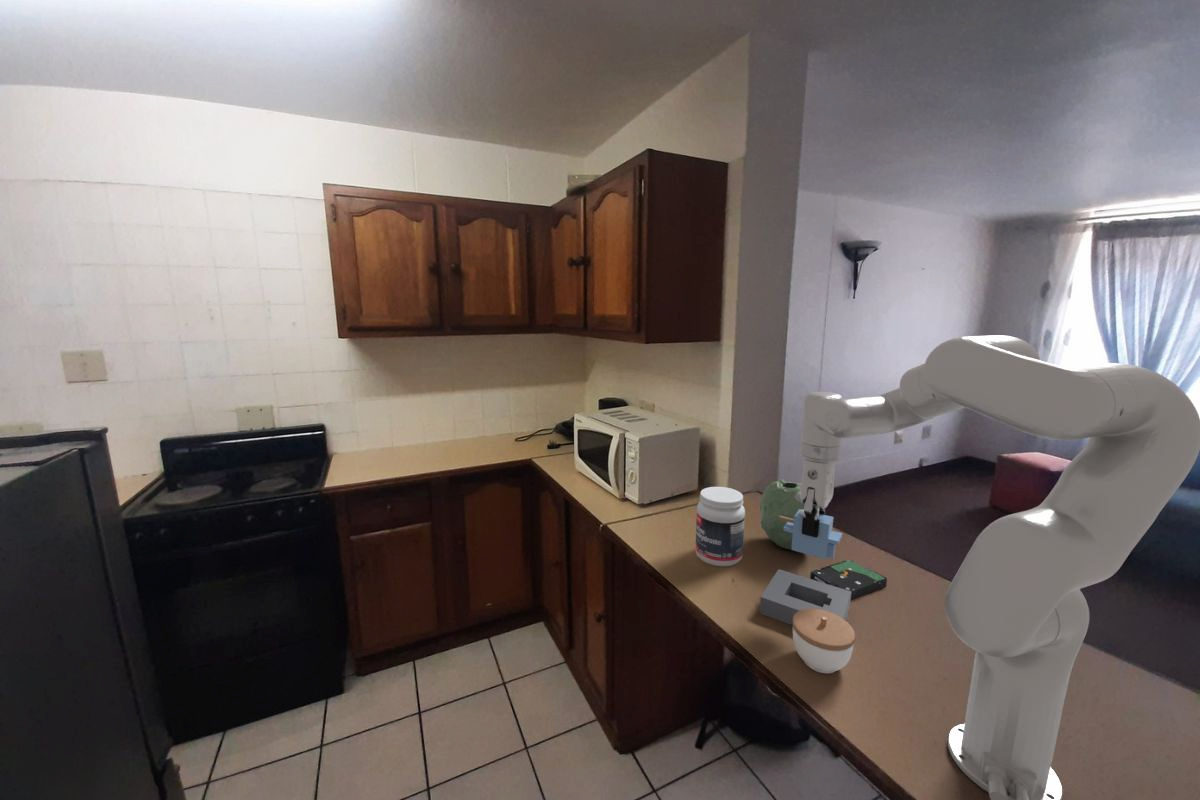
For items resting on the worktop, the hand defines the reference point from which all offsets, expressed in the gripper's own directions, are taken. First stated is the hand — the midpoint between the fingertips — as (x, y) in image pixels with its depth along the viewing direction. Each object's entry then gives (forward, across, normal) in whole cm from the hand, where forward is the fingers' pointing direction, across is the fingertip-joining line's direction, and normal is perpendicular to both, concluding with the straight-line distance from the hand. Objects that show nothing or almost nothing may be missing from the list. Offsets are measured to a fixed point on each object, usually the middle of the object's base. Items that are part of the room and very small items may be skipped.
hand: (812, 530), depth 100 cm
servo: (+5, 0, 0) cm, 5 cm away
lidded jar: (+20, -15, -6) cm, 26 cm away
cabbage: (+20, +28, +11) cm, 36 cm away
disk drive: (+20, +18, -6) cm, 28 cm away
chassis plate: (+20, 0, 0) cm, 20 cm away
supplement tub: (+20, +11, +25) cm, 34 cm away
